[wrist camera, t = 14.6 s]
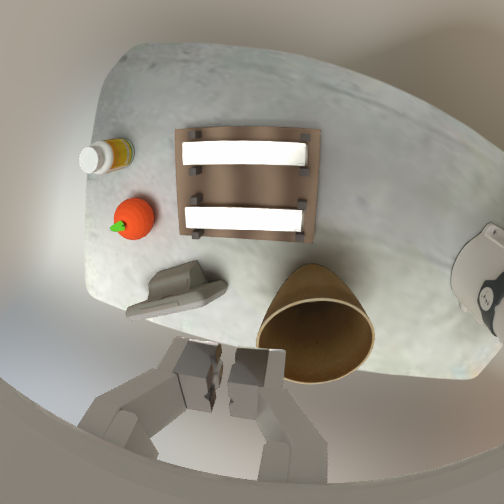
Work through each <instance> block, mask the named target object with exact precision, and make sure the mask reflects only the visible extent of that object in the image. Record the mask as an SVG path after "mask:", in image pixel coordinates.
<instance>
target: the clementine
mask: <svg viewBox="0 0 504 504" xmlns="http://www.w3.org/2000/svg"><path fill="white" fill-rule="evenodd" d="M153 222H154V214H153V210H152V208H151V206H150V205H149V204H148V203H147V202H145V201H144V200H141V199H139V198H131V199H127V200H125V201H123V202H122V203H121V204H120V205H119V206H118V207H117V209H116V211H115V214H114V225H112V226H111V227H110V229H111V231H114V232H118V233H119V234H120V235H121V236H123V237H124V238H126V239H130V240H137V239H140V238H143V237H145V236H146V235H147V234H148V233H149V232H150V231H151V229H152V227H153Z"/></svg>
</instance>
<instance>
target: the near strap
mask: <svg viewBox="0 0 504 504" xmlns="http://www.w3.org/2000/svg"><path fill="white" fill-rule="evenodd" d="M186 164H272V165H294V166H307V165H308V143H293V142H270V141H209V142H186V143H183V165H186Z"/></svg>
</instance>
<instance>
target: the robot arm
mask: <svg viewBox="0 0 504 504" xmlns="http://www.w3.org/2000/svg"><path fill="white" fill-rule="evenodd" d="M493 232H494V233H493ZM451 286H452V290H453V292H454V294H455V296H456V297H457V298H458V299H459V301H460V307H461V309H462V310H463V311H464V312H468V311H469V312H470V313H471V314H472V315H473V316H474V317H475V319H476V320H477V321H478V322H479V323H480V324H482V325H484V324H485V325H486V327H487V328H488V330H489V331H490V332H491V333H492V334H493V335H494V336H496V337H498V338H499V340H500V341H501V343H502V344H503V346H504V230H503V229H501V228H499V227H498V226H496V225H494V224H492V223H489V224H487V225H486V227H485V228H484V229H483V231H482V232H481V233H480V234H479V235H478V236H477V237H475V238H474V239H472V240H471V241H470V242H469V243H468V244H467V245H466V246H465V247H464V248H463V249H462V251H461V252H460V254H459V255H458V257H457V259H456V261H455V264H454V266H453V270H452V275H451ZM221 353H222V349H221V345H220V344H219V343H213V342H207V341H201V340H196V339H188V338H183V337H178V336H177V337H175V338H174V339H173V340H172V342H171V344H170V346H169V348H168V350H167V351H166V353H165V355H164V357H163V358H162V360H161V362H160V364H159V366H158V367H157V369H150V370H148V371H147V372H145V373H143V374H141V375H139V376H137V377H135V378H133V379H132V380H130V381H128V382H126V383H124V384H122V385H120V386H118V387H116V388H114V389H112V390H110V391H108V392H106V393H104V394H102V395H100V396H98V397H96V398H95V400H94V401H93V403H92V404H91V406H90V407H89V409H88V410H87V412H86V413H85V415H84V416H83V418H82V420H81V421H80V423H79V424H78V426H77V427H76V426H74V425H73V424H70V423H69V422H67V421H65V420H63V419H62V418H60V417H57V416H56V415H55V414H53V413H51V412H49V411H48V410H46V409H44V408H43V407H41V406H40V405H38V404H37V403H35V402H33V401H32V400H30V399H29V398H27V397H26V396H25V395H23V394H22V393H20V392H19V391H17V390H16V389H15V388H13V387H12V386H11V385H9V384H8V383H7V382H5V381H4V380H3V379H1V378H0V504H504V444H502V445H499V446H497V447H495V448H492V449H490V450H488V451H485V452H482V453H480V454H477V455H475V456H472V457H469V458H466V459H463V460H460V461H457V462H454V463H452V464H448V465H444V466H441V467H438V468H433V469H430V470H426V471H421V472H417V473H412V474H408V475H402V476H397V477H391V478H385V479H377V480H370V481H359V482H348V483H327V467H328V466H327V465H328V464H327V463H328V462H327V459H328V457H327V455H328V453H327V442H326V441H325V439H324V438H323V437H322V435H321V434H320V433H319V431H318V430H317V429H316V428H315V426H314V425H313V423H312V422H311V421H310V419H309V418H308V417H307V415H306V414H305V413H304V412H303V410H302V409H301V407H300V406H299V405H298V403H297V402H296V400H295V399H294V398H293V396H292V395H291V393H290V392H289V391H288V390H287V389H283V379H284V369H285V356H286V351H285V350H281V349H270V350H269V349H266V348H255V347H245V346H238V347H237V350H236V353H235V363H234V364H233V365H232V368H231V371H230V375H229V379H228V396H229V397H230V398H231V399H230V403H229V408H230V416H233V417H240V418H246V419H253V420H256V422H257V424H258V426H259V428H260V430H261V432H262V434H263V436H264V438H265V440H266V442H267V443H266V444H265V445H264V447H263V452H262V458H261V464H260V469H259V475H258V479H257V481H255V480H247V479H240V478H233V477H227V476H221V475H215V474H211V473H206V472H201V471H197V470H193V469H189V468H185V467H181V466H177V465H173V464H170V463H166V462H163V461H160V460H157V456H158V454H159V453H158V452H157V450H156V448H155V446H154V445H153V443H152V442H151V440H150V438H151V437H152V436H153V435H155V434H156V433H157V432H159V431H160V430H162V429H163V428H164V427H165V426H167V425H168V424H169V423H170V422H172V421H173V420H174V419H176V418H177V417H178V416H179V415H180V414H182V413H183V412H184V411H186V408H187V409H192V410H198V411H203V412H209V413H211V412H212V410H213V407H214V403H215V400H216V391H215V390H216V389H218V388H219V387H220V384H221V380H222V374H223V362H222V361H221V359H220V356H221Z"/></svg>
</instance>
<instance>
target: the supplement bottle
mask: <svg viewBox="0 0 504 504" xmlns="http://www.w3.org/2000/svg"><path fill="white" fill-rule="evenodd" d="M133 156H134V149H133V146H132V144H131V143H130V141H128V140H126V139H111V140H102V141H97V142H95V143H93V144H92V145H91V146H89V147H86V148H84V149H83V150H82V151H81V153H80V156H79V163H80V167H81V169H82V170H83V171H84V172H85V173H94V174H98V175H101V174H105V173H109V172H112V171H116V170H120V169H123V168H126V167H127V166H129V165H130V163H131V162H132V160H133Z"/></svg>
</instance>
